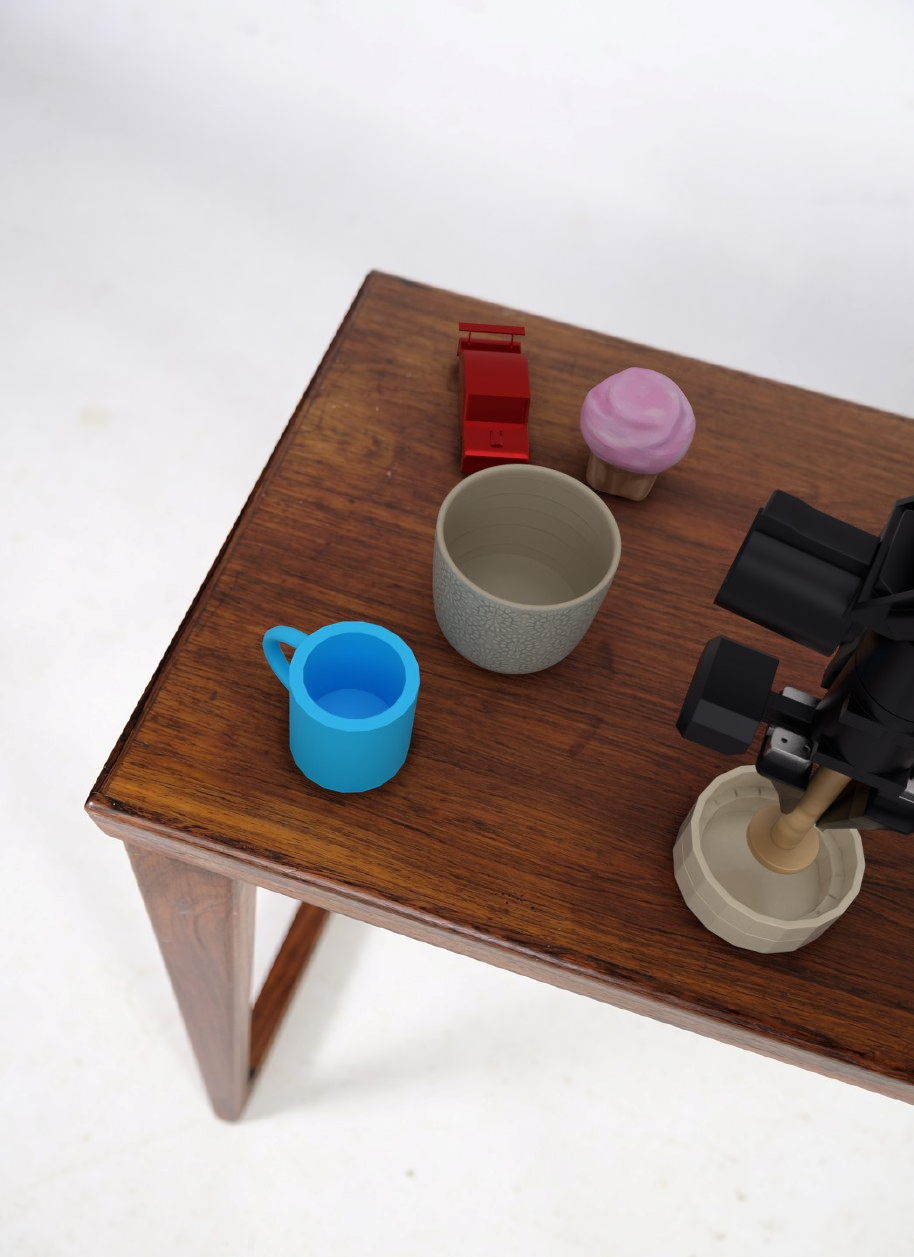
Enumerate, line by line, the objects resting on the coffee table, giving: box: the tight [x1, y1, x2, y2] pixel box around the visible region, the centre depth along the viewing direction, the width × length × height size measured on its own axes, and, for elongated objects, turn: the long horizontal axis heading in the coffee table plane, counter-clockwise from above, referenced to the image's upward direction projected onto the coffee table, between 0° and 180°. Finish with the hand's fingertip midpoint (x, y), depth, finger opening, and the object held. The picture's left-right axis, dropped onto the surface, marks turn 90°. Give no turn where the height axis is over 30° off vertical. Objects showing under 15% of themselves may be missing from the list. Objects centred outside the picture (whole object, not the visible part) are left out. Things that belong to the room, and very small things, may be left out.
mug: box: [262, 620, 421, 794], centre depth 78 cm, size 12×8×8 cm
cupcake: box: [579, 366, 697, 502], centre depth 93 cm, size 9×9×10 cm
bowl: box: [672, 764, 866, 954], centre depth 77 cm, size 11×11×5 cm
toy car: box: [456, 321, 531, 474], centre depth 98 cm, size 14×6×5 cm, turn 1°
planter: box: [432, 464, 622, 675], centre depth 83 cm, size 12×12×11 cm
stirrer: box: [746, 765, 852, 875], centre depth 70 cm, size 4×4×11 cm
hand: (802, 814), depth 71 cm, fingers closed on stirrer, 2 cm apart
